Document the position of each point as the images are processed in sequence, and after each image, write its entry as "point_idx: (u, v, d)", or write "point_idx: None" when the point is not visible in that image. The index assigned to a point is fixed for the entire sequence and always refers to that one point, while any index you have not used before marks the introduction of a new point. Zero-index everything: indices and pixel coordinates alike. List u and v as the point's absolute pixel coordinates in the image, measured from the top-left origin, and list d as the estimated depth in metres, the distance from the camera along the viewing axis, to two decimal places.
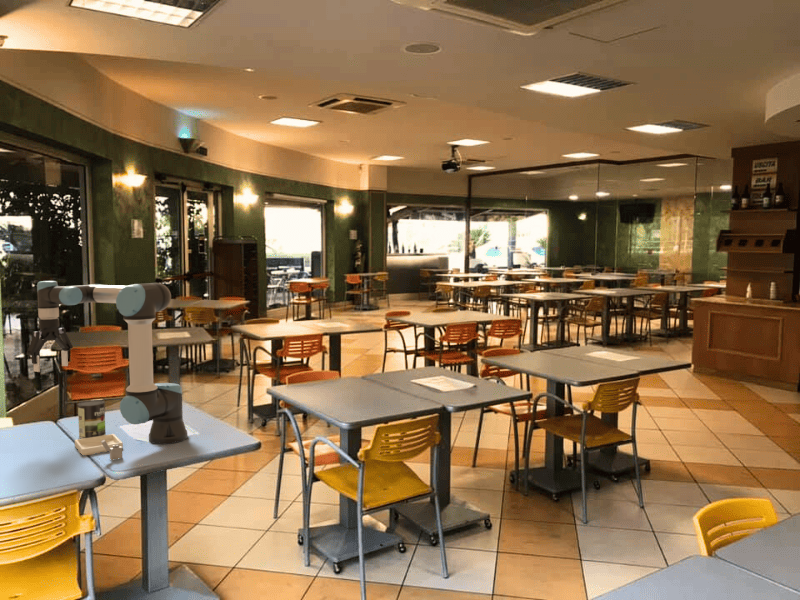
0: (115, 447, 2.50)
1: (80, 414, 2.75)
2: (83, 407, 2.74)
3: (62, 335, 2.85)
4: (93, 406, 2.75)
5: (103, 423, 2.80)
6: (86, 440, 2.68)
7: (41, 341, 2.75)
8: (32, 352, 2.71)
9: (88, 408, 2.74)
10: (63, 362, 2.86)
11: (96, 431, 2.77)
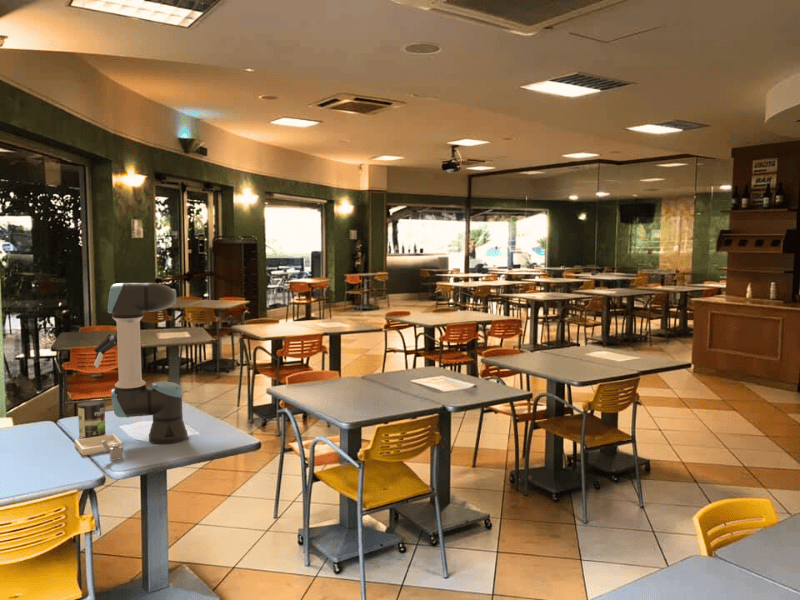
0: (115, 447, 2.50)
1: (80, 414, 2.75)
2: (83, 407, 2.74)
3: None
4: (93, 406, 2.75)
5: (103, 423, 2.80)
6: (86, 440, 2.68)
7: None
8: (96, 348, 2.96)
9: (88, 408, 2.74)
10: None
11: (96, 431, 2.77)
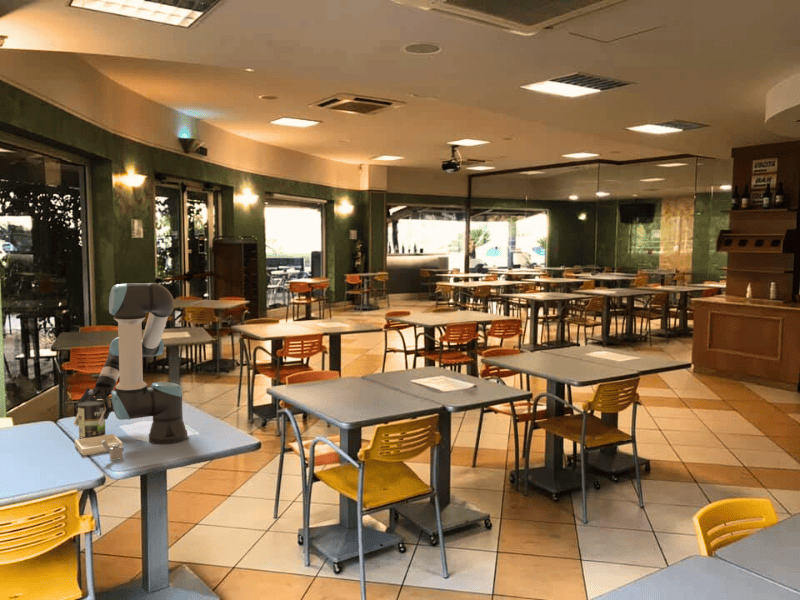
0: (115, 447, 2.50)
1: (80, 414, 2.75)
2: (83, 407, 2.74)
3: None
4: (93, 406, 2.75)
5: None
6: (86, 440, 2.68)
7: None
8: (76, 405, 2.82)
9: (88, 408, 2.74)
10: None
11: (96, 431, 2.76)
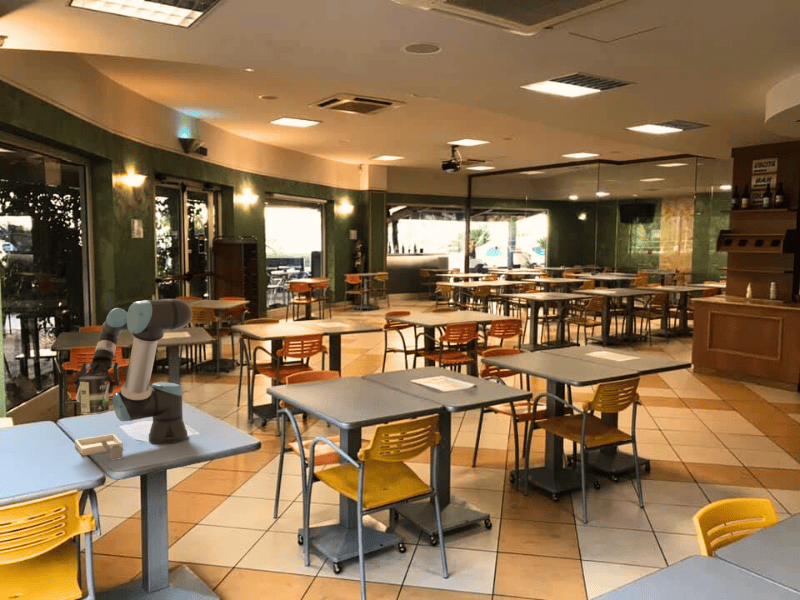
0: (115, 447, 2.50)
1: (84, 388, 2.61)
2: (88, 380, 2.60)
3: (114, 370, 2.72)
4: (98, 379, 2.62)
5: None
6: (86, 440, 2.68)
7: None
8: (74, 380, 2.67)
9: (93, 381, 2.61)
10: None
11: (101, 405, 2.63)
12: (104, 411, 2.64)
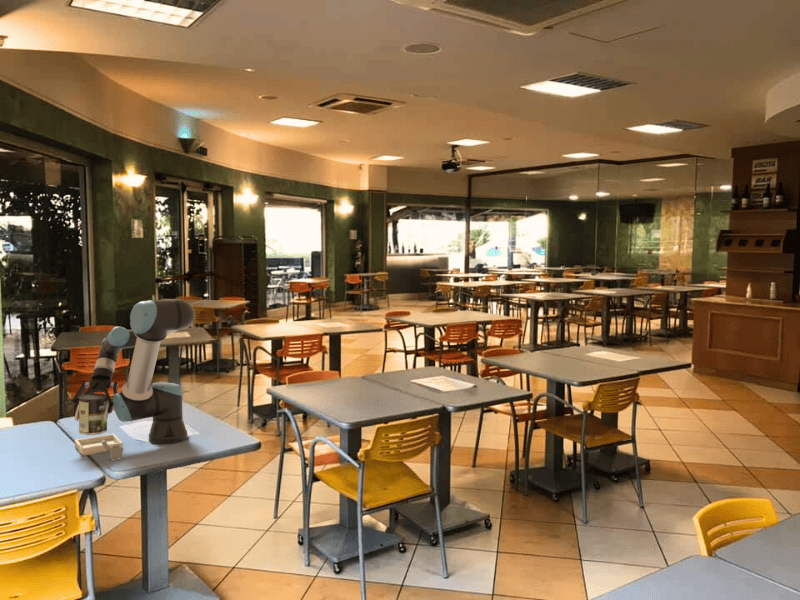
0: (115, 447, 2.50)
1: (83, 408, 2.59)
2: (87, 401, 2.59)
3: None
4: (98, 400, 2.60)
5: None
6: (86, 440, 2.68)
7: None
8: (73, 399, 2.65)
9: (93, 401, 2.59)
10: None
11: (100, 426, 2.62)
12: (103, 431, 2.63)
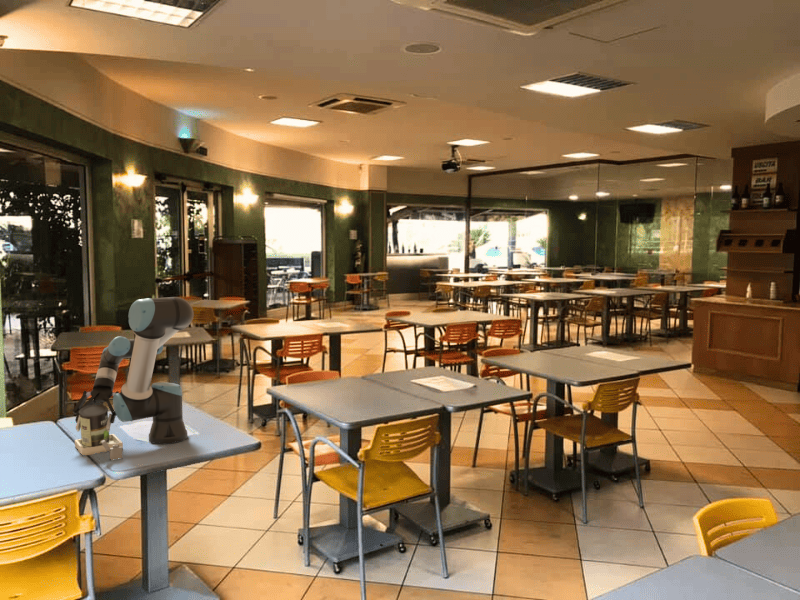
0: (115, 447, 2.50)
1: (84, 424, 2.58)
2: (88, 417, 2.57)
3: None
4: (99, 415, 2.59)
5: None
6: None
7: None
8: (74, 409, 2.65)
9: (94, 418, 2.58)
10: None
11: (103, 439, 2.62)
12: None
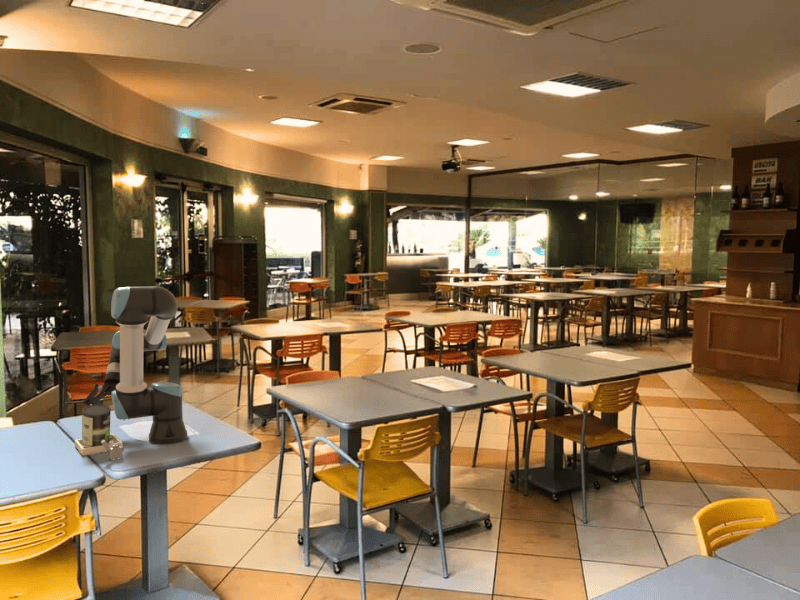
0: (115, 447, 2.50)
1: (87, 423, 2.59)
2: (92, 416, 2.58)
3: None
4: (102, 415, 2.60)
5: (109, 429, 2.66)
6: None
7: None
8: (85, 400, 2.78)
9: (97, 417, 2.59)
10: None
11: (104, 439, 2.63)
12: None
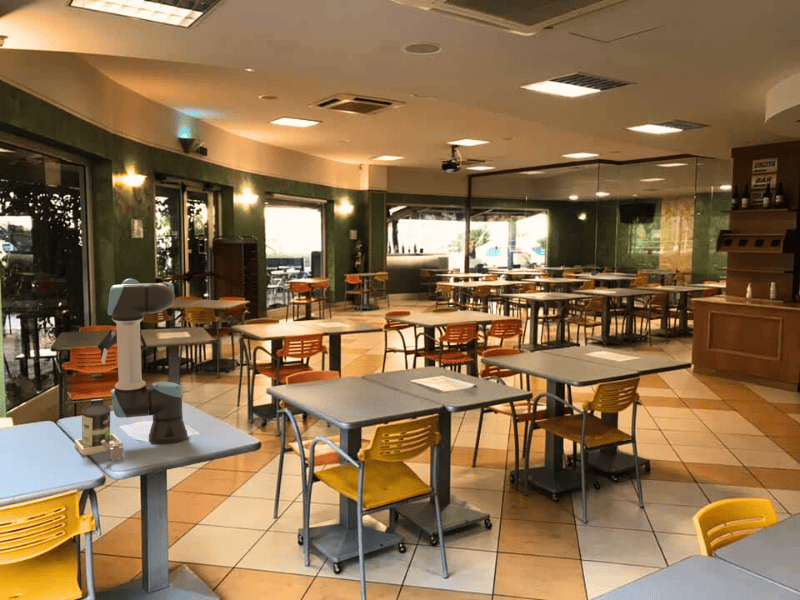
0: (115, 447, 2.50)
1: (87, 423, 2.59)
2: (91, 416, 2.58)
3: (139, 337, 2.95)
4: (102, 415, 2.60)
5: (109, 429, 2.66)
6: None
7: None
8: (99, 345, 2.89)
9: (97, 417, 2.59)
10: None
11: (104, 439, 2.63)
12: None
